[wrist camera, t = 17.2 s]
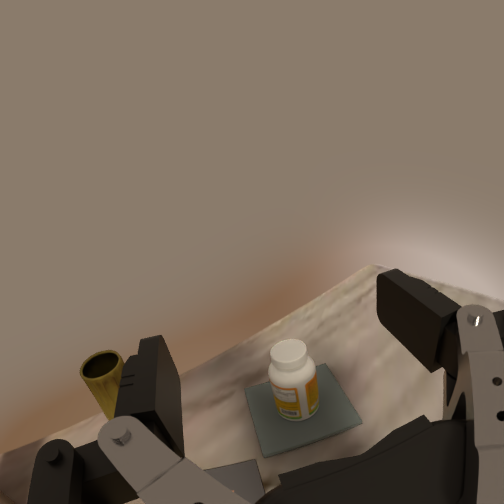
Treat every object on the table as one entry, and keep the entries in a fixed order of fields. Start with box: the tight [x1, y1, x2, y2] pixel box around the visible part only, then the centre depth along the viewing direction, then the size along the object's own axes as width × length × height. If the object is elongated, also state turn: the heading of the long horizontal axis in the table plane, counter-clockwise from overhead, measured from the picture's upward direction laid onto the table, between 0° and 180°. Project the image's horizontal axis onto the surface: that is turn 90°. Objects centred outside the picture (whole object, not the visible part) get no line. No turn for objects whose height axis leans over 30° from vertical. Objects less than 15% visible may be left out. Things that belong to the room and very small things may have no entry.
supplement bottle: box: [268, 339, 319, 421], centre depth 34 cm, size 5×5×10 cm
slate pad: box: [244, 363, 362, 458], centre depth 36 cm, size 12×12×1 cm
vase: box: [80, 350, 124, 421], centre depth 32 cm, size 6×6×14 cm
